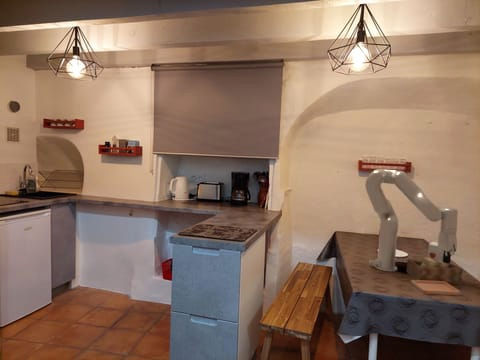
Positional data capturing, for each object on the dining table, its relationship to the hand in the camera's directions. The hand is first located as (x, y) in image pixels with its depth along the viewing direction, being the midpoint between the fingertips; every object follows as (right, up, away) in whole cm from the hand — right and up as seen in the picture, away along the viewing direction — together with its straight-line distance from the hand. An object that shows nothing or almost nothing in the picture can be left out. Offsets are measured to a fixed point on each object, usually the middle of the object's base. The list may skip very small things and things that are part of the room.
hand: (446, 262), depth 179 cm
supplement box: (+6, -8, +18) cm, 21 cm away
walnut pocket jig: (-7, -9, +1) cm, 11 cm away
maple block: (-7, -5, +1) cm, 8 cm away
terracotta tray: (-15, -10, -14) cm, 22 cm away
